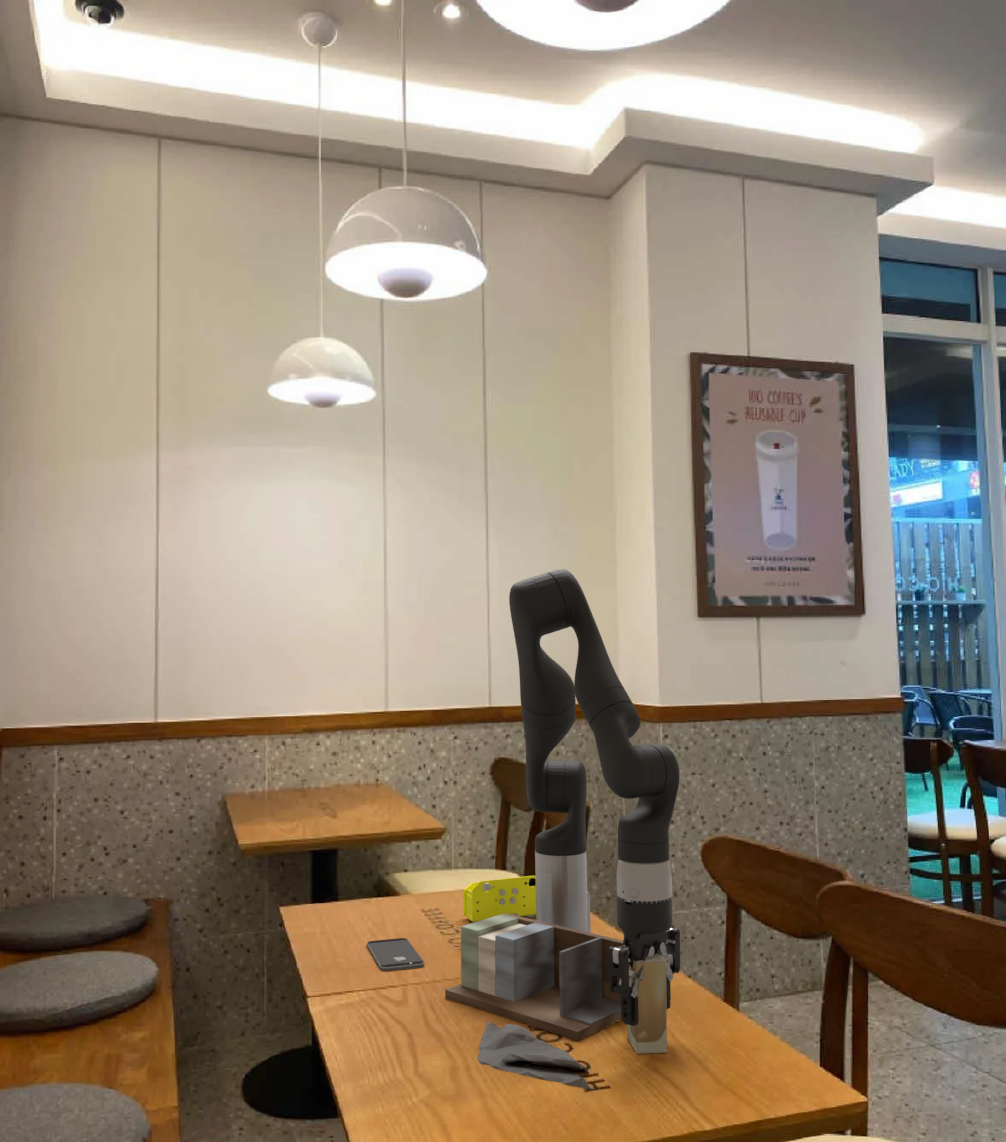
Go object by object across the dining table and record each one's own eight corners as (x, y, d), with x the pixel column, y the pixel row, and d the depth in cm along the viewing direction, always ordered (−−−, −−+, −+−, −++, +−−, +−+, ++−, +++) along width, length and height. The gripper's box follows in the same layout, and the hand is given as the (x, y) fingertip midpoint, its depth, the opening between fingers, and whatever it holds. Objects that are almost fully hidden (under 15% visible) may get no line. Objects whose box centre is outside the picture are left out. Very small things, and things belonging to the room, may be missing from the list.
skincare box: (626, 1036, 140) (624, 946, 141) (657, 1035, 141) (655, 945, 141) (636, 1055, 134) (634, 960, 135) (668, 1054, 134) (666, 959, 135)
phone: (365, 947, 184) (381, 974, 169) (365, 941, 184) (381, 968, 169) (406, 942, 187) (425, 969, 171) (406, 937, 187) (425, 963, 171)
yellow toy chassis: (473, 926, 196) (472, 882, 197) (463, 919, 201) (462, 876, 202) (548, 917, 202) (547, 875, 203) (536, 910, 207) (536, 869, 208)
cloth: (451, 1030, 145) (451, 1014, 145) (541, 1018, 149) (541, 1003, 149) (508, 1109, 120) (508, 1090, 120) (614, 1093, 124) (614, 1074, 125)
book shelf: (506, 975, 167) (505, 911, 167) (636, 1012, 149) (635, 942, 150) (445, 997, 156) (445, 930, 157) (577, 1041, 139) (576, 964, 140)
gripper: (651, 878, 146) (653, 996, 145) (590, 897, 136) (592, 1024, 135) (695, 886, 141) (698, 1008, 140) (636, 907, 131) (639, 1038, 130)
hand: (646, 1015), depth 138 cm, fingers closed on skincare box, 7 cm apart
